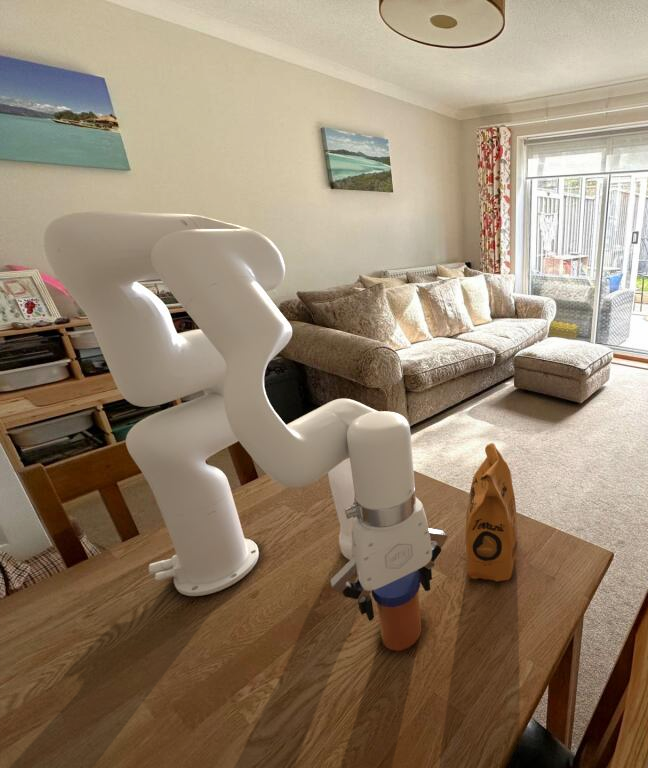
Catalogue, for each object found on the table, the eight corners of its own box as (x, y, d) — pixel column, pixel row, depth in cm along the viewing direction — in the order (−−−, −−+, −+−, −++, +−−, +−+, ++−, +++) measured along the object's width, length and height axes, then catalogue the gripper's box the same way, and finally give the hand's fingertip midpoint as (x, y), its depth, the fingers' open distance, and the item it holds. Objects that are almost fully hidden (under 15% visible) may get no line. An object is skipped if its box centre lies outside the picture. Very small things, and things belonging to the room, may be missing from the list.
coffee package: (458, 582, 72) (455, 478, 64) (470, 532, 83) (469, 439, 75) (514, 586, 71) (518, 482, 63) (518, 536, 83) (522, 442, 74)
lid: (428, 590, 59) (427, 582, 58) (383, 616, 55) (382, 607, 54) (408, 561, 64) (407, 553, 63) (365, 583, 60) (363, 574, 59)
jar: (386, 658, 59) (379, 606, 55) (377, 624, 64) (370, 575, 60) (426, 639, 62) (422, 589, 58) (415, 608, 67) (410, 560, 63)
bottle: (371, 566, 74) (350, 422, 63) (332, 559, 76) (305, 416, 65) (392, 536, 82) (376, 401, 71) (355, 529, 83) (335, 397, 72)
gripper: (323, 547, 46) (343, 651, 53) (458, 494, 56) (460, 587, 62) (310, 511, 52) (329, 609, 58) (434, 468, 61) (439, 557, 68)
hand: (397, 597), depth 60 cm, fingers open, 8 cm apart
